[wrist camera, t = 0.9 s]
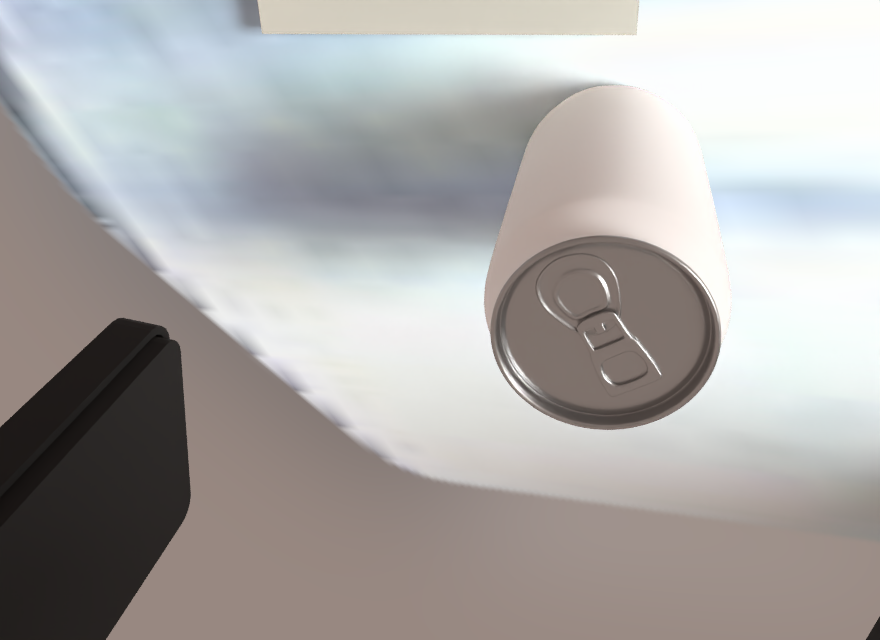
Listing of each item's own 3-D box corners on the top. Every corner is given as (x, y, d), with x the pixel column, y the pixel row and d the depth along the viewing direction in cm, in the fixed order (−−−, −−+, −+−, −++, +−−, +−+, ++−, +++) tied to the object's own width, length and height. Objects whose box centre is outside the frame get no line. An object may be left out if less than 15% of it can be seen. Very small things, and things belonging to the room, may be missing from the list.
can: (652, 45, 28) (666, 170, 18) (732, 201, 30) (784, 391, 20) (491, 137, 31) (424, 290, 21) (575, 274, 33) (552, 473, 23)
